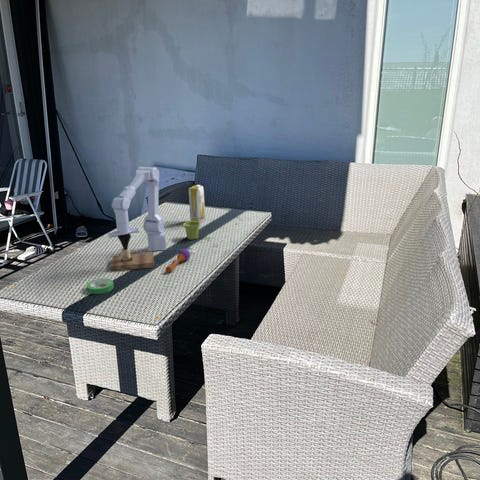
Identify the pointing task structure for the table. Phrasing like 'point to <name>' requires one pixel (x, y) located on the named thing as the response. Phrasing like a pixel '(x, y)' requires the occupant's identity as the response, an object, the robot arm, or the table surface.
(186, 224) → the plant pot
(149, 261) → the walnut board
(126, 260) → the beech peg
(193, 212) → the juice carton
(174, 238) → the table surface
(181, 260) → the kendama
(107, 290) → the tape roll
